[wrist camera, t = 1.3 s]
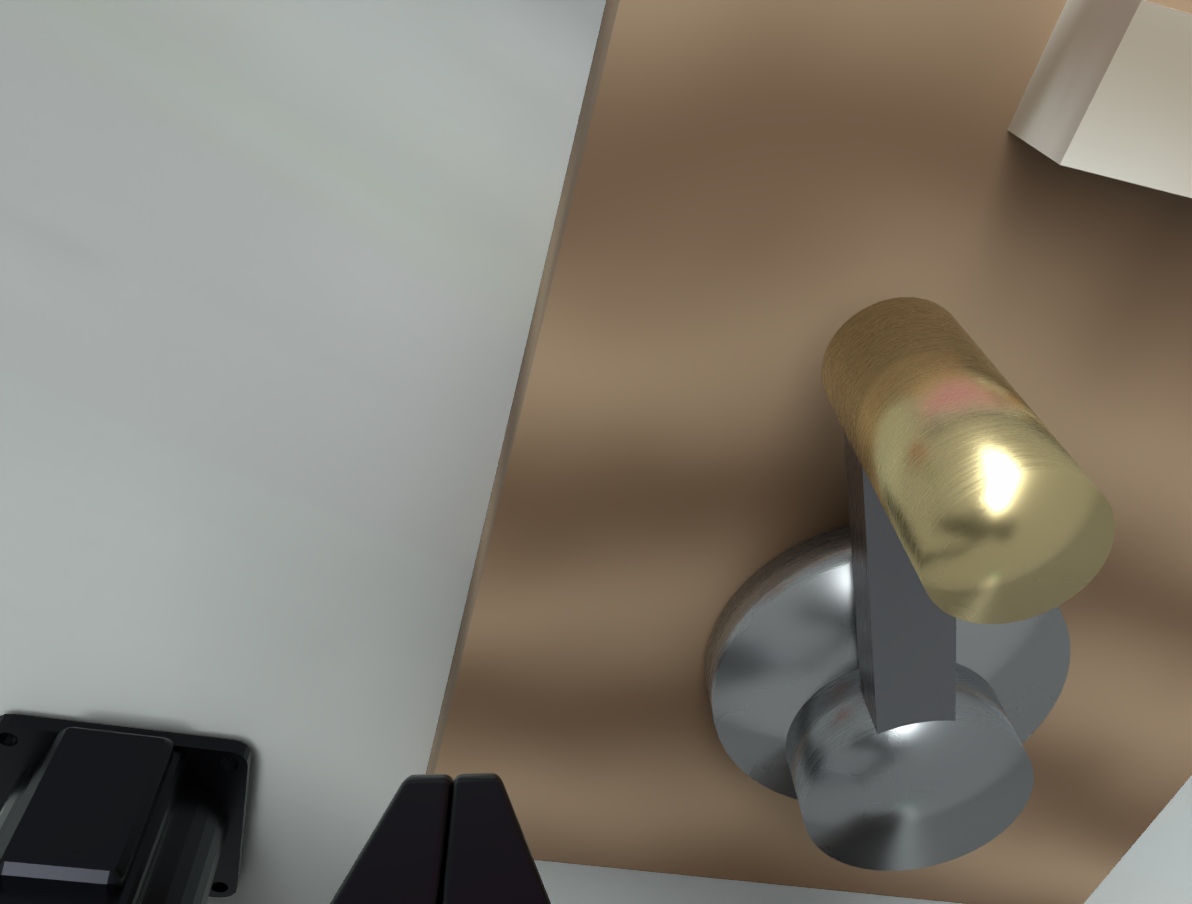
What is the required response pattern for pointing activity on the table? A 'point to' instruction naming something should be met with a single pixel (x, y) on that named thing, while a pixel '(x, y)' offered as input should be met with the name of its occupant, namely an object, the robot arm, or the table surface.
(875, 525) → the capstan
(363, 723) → the table surface
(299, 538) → the table surface
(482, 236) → the table surface
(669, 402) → the stand
